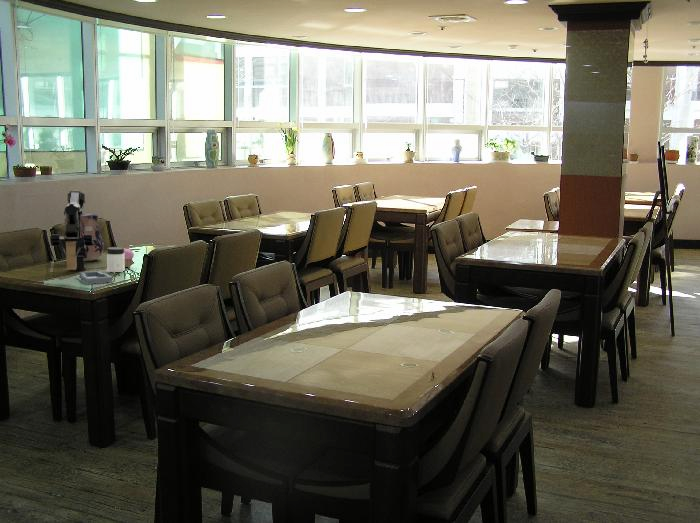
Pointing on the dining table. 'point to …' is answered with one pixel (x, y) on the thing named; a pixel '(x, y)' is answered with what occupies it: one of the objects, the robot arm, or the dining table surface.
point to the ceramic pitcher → (91, 228)
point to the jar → (115, 259)
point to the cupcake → (128, 257)
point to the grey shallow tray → (94, 277)
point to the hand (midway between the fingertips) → (71, 254)
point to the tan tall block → (71, 255)
